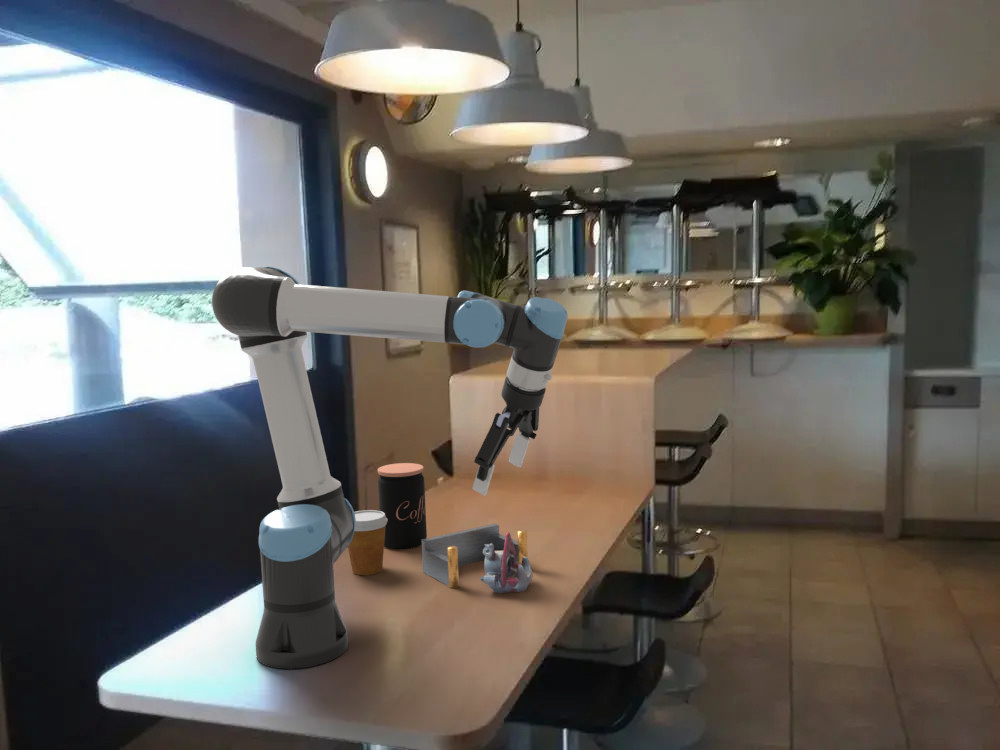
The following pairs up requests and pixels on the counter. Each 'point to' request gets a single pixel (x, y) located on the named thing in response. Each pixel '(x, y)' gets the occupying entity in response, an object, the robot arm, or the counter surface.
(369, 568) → the disposable coffee cup
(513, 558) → the brake caliper
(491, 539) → the bracket
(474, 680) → the counter surface
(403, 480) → the coffee jar
